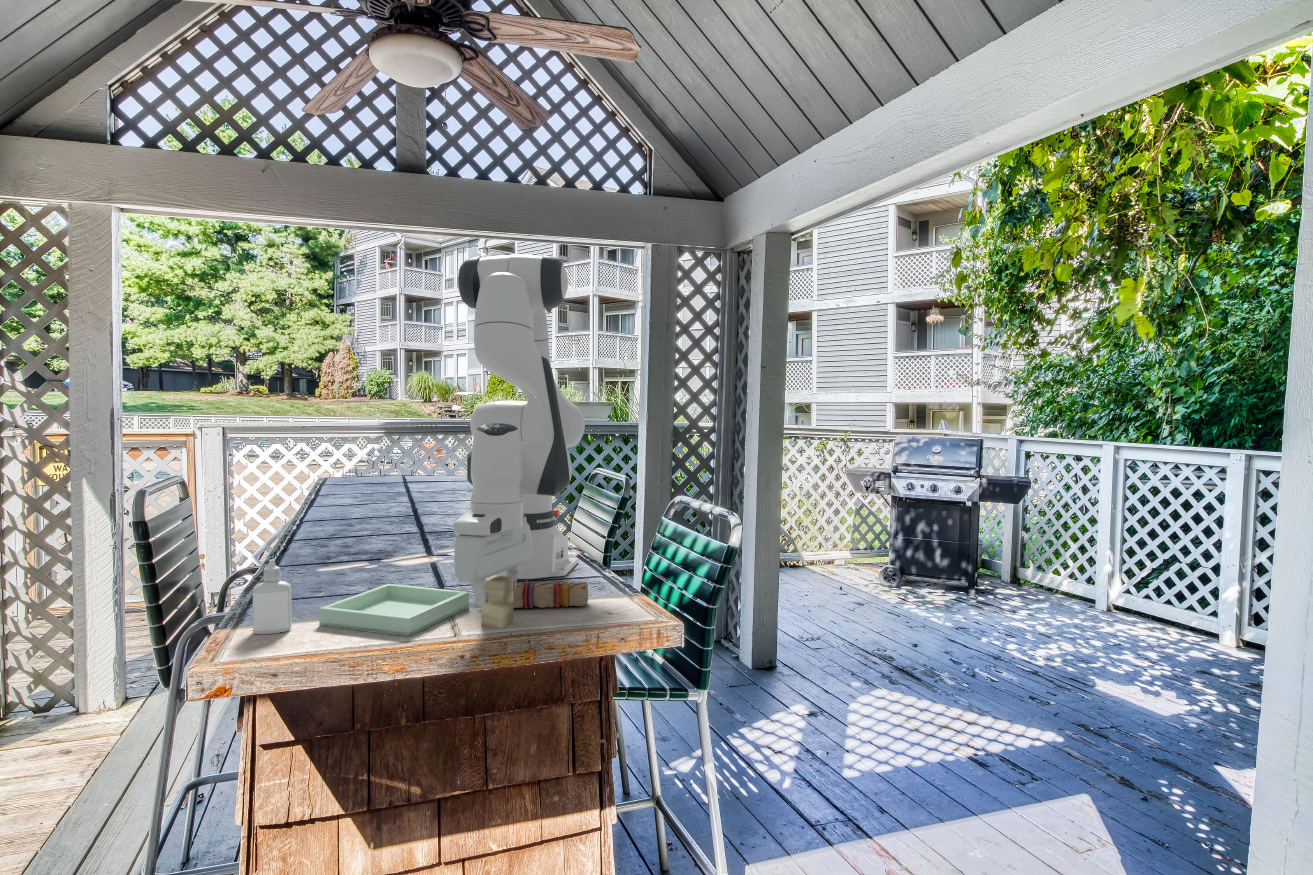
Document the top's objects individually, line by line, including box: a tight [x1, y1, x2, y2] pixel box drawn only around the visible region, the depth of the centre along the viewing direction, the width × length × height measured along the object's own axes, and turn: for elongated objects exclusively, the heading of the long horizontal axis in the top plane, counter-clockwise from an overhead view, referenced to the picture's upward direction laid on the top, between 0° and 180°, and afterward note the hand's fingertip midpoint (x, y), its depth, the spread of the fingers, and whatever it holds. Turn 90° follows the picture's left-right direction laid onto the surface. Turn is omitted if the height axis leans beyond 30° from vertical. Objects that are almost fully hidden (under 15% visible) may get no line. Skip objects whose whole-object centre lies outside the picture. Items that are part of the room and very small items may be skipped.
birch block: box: [480, 574, 514, 629], centre depth 126 cm, size 4×4×8 cm
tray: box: [318, 583, 470, 638], centre depth 129 cm, size 18×18×3 cm
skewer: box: [513, 579, 589, 609], centre depth 137 cm, size 21×6×5 cm, turn 96°
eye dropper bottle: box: [252, 559, 293, 635], centre depth 120 cm, size 4×6×12 cm
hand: (496, 597), depth 125 cm, fingers open, 8 cm apart
